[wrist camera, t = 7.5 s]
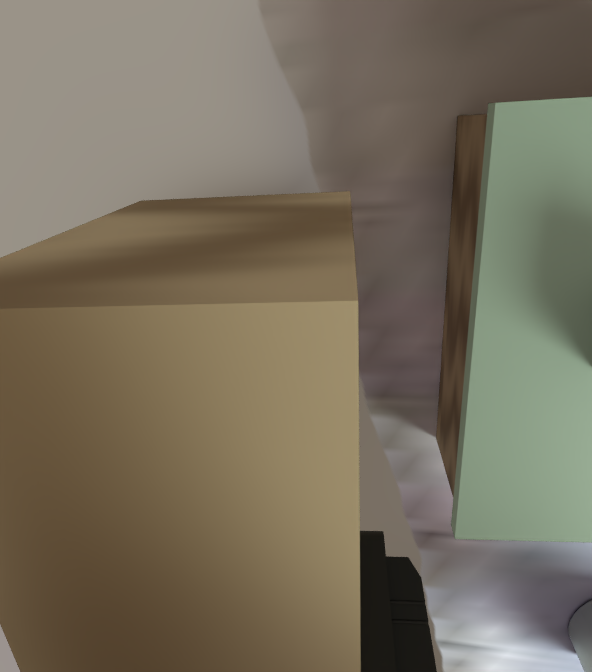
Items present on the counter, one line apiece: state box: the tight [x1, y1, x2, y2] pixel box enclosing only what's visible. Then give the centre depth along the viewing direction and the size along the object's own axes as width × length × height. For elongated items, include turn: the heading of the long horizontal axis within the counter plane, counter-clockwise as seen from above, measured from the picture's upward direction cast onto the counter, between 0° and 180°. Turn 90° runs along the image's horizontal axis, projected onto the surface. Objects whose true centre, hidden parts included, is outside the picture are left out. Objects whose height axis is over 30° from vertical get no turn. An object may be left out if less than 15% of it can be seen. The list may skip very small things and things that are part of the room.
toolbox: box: [436, 114, 487, 498], centre depth 31 cm, size 24×14×9 cm, turn 3°
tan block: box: [0, 191, 361, 672], centre depth 10 cm, size 4×16×6 cm, turn 3°
